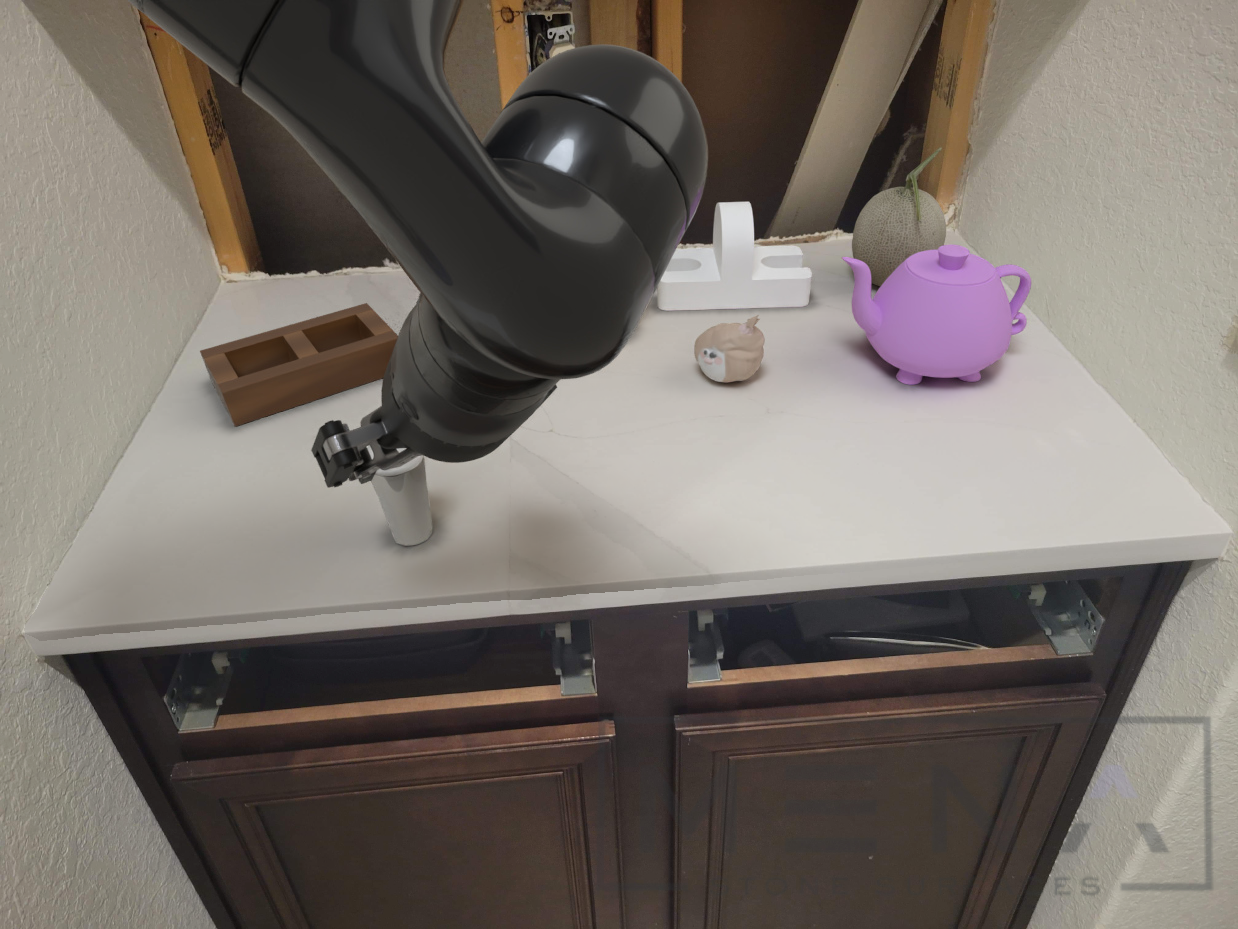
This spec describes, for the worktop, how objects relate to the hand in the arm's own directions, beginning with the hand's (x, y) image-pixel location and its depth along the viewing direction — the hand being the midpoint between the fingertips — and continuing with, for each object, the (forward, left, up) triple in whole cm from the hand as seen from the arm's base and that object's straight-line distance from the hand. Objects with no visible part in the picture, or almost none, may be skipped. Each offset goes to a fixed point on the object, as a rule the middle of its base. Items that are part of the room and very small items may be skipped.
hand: (419, 446), depth 56 cm
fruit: (+61, +30, -13) cm, 69 cm away
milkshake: (-1, +6, -13) cm, 14 cm away
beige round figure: (+33, +18, -13) cm, 39 cm away
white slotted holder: (+42, +36, -13) cm, 56 cm away
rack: (-8, +35, -12) cm, 38 cm away
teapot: (+53, +13, -13) cm, 56 cm away
